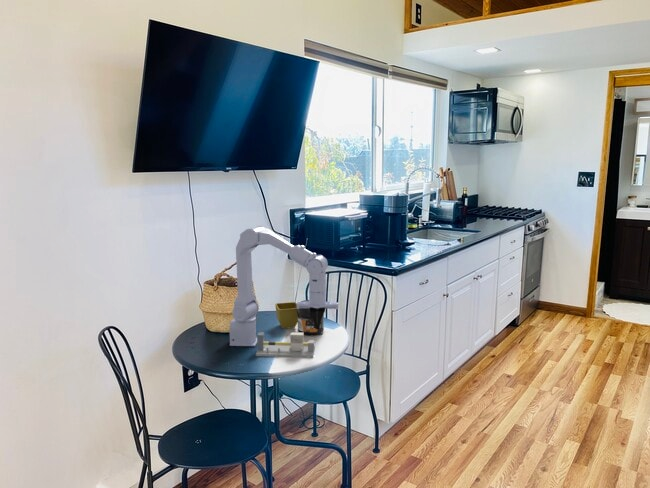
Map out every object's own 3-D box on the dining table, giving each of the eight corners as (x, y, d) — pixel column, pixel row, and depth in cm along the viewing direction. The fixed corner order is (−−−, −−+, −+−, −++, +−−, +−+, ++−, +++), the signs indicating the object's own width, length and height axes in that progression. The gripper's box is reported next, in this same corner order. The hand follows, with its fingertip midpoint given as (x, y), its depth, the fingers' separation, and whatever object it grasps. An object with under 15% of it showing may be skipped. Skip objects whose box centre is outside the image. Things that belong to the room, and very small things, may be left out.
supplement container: (294, 335, 191) (293, 305, 190) (301, 326, 202) (301, 298, 200) (320, 337, 189) (320, 307, 187) (326, 328, 199) (326, 300, 197)
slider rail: (255, 356, 171) (255, 338, 170) (260, 346, 180) (260, 329, 179) (313, 357, 170) (313, 339, 169) (315, 347, 179) (315, 330, 178)
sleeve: (290, 350, 173) (290, 335, 172) (291, 347, 176) (291, 332, 175) (303, 350, 173) (302, 335, 172) (303, 347, 176) (303, 332, 175)
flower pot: (300, 329, 199) (300, 307, 197) (279, 331, 197) (278, 309, 195) (295, 322, 207) (295, 301, 206) (275, 324, 205) (275, 303, 203)
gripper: (295, 293, 167) (295, 331, 169) (337, 294, 166) (337, 332, 169) (297, 288, 174) (298, 325, 176) (338, 288, 173) (338, 325, 176)
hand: (317, 328), depth 173 cm, fingers closed
